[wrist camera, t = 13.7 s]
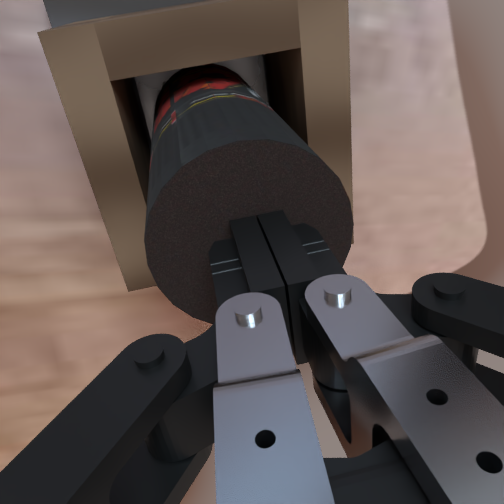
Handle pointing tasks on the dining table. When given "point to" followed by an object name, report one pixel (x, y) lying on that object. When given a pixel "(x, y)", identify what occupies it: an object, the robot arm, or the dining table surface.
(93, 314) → the dining table surface
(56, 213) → the dining table surface
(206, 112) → the deodorant
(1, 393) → the dining table surface
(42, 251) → the dining table surface
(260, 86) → the press platform
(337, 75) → the sleeve holder
